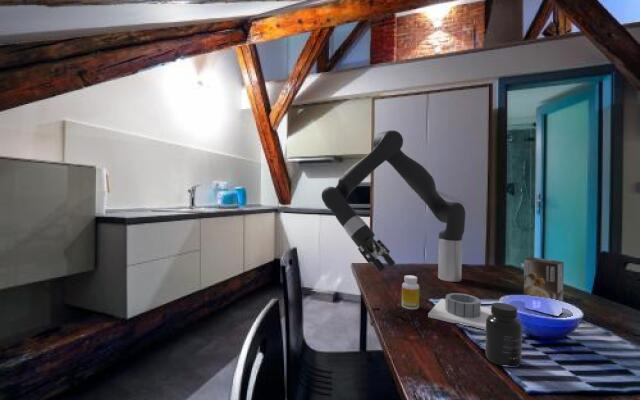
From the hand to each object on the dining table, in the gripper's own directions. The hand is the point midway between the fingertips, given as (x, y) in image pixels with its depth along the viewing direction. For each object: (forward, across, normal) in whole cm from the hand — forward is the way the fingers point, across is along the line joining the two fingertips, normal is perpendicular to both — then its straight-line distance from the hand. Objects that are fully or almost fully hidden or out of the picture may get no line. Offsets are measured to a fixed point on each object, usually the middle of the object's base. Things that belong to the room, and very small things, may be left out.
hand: (388, 267), depth 101 cm
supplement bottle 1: (+14, 0, +3) cm, 14 cm away
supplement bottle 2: (+33, -19, -16) cm, 41 cm away
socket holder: (+24, +3, -8) cm, 26 cm away
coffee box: (+38, +22, -22) cm, 49 cm away
